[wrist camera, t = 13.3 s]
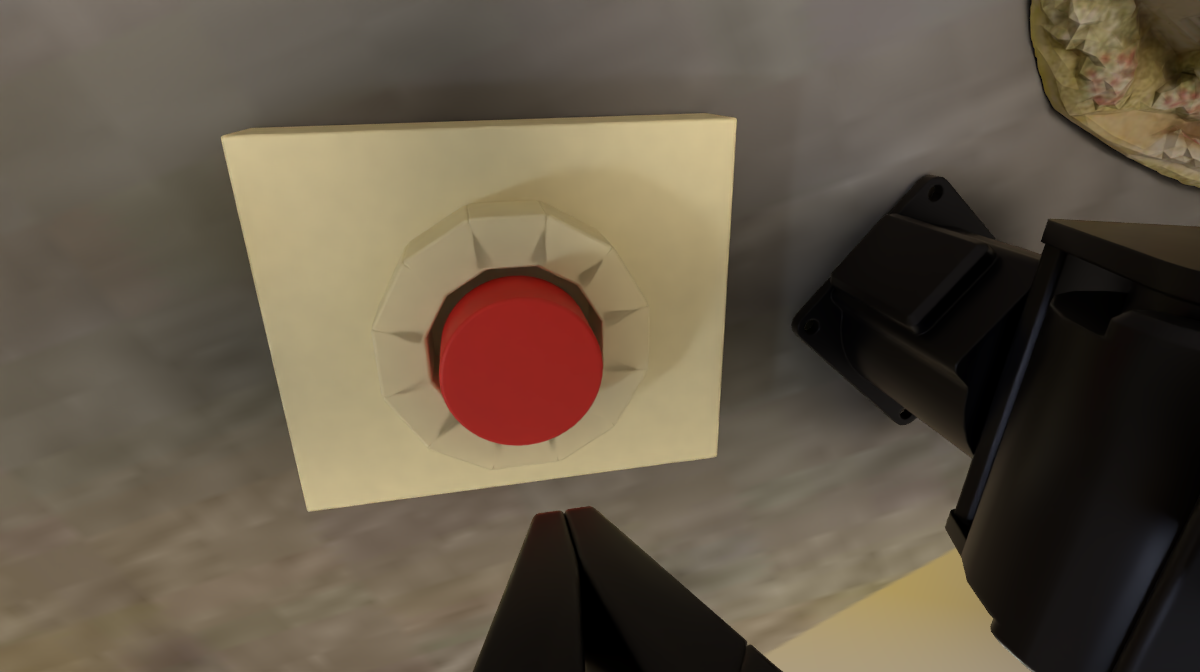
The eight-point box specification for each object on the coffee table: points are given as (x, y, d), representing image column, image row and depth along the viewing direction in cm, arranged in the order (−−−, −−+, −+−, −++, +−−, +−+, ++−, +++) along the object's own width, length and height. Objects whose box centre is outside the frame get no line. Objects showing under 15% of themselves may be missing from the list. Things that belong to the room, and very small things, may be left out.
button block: (707, 113, 18) (770, 122, 15) (693, 422, 22) (740, 491, 18) (248, 128, 16) (187, 143, 12) (321, 468, 20) (291, 557, 16)
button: (587, 268, 15) (602, 290, 14) (591, 402, 17) (605, 437, 15) (432, 280, 15) (429, 305, 13) (449, 419, 16) (448, 456, 14)
